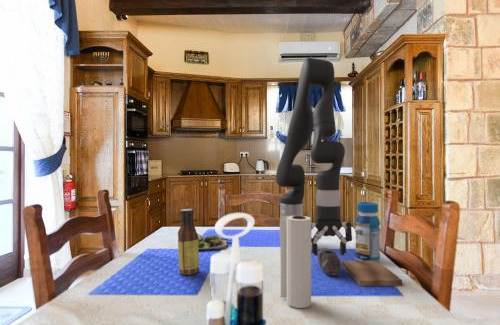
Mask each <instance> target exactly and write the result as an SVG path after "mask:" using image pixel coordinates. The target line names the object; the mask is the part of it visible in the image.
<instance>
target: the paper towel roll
mask: <svg viewBox="0 0 500 325" xmlns="http://www.w3.org/2000/svg"><path fill="white" fill-rule="evenodd" d="M311 223H312V218H311V217H310V216H306V215H305V216H304V215H303V216H281V244H280V298H281V299H282V298H284V299H285V298H286V303H287V305H288V306H290V307H293V308H297V309H305V308H308V307H310V306H311V305H312V243H311V238H312V230H311Z"/></svg>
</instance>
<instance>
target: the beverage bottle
mask: <svg viewBox="0 0 500 325" xmlns="http://www.w3.org/2000/svg"><path fill="white" fill-rule="evenodd" d="M357 213H358V215H357V216H356V218H355V222H354V223H355V228H354V232H355V259H356V261H378V262H380V260H381V255H380V252H381V251H380V250H381V249H380V247H381V246H380V245H381V244H380V242H381V241H380V240H381V239H380V238H381V228H380V225H381V222H380V218H379V217H378V215H377V214H378V213H379V204H378V203H377V202H372V201H359V202H358V203H357Z"/></svg>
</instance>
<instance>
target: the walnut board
mask: <svg viewBox="0 0 500 325" xmlns="http://www.w3.org/2000/svg"><path fill="white" fill-rule="evenodd" d="M340 262H341V268H343V269H344V270H345V271H346V272H347V274H349V276H350V277H351V278H352V279H353V280H354V281H355V282H356V284H357V285H358V286H359V287H384V286H385V287H391V286H393V287H394V286H396V287H397V286H401V287H402V286H403V280H402V279H401V277H399V276H398V275H396V274H395V273H394V272H392V271H391V270H390V269H388V267H386V266H384V265H383V264H382V263H381V262H380V261H379V262H378V261H359V260H340Z"/></svg>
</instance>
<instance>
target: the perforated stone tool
mask: <svg viewBox="0 0 500 325" xmlns="http://www.w3.org/2000/svg"><path fill="white" fill-rule="evenodd" d="M317 254H318V255H317V256H316V260H317V264H318V266H319V267H320V268H321V270H322V272H324V273H325V274H326V275H328V276H339V275H340V274H341V272H342V265H341V258H339V256H338V254H336V252H334V251H333V250H331V249H329V248H326V247H321V248H320V249H319V250H318V251H317Z"/></svg>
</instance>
